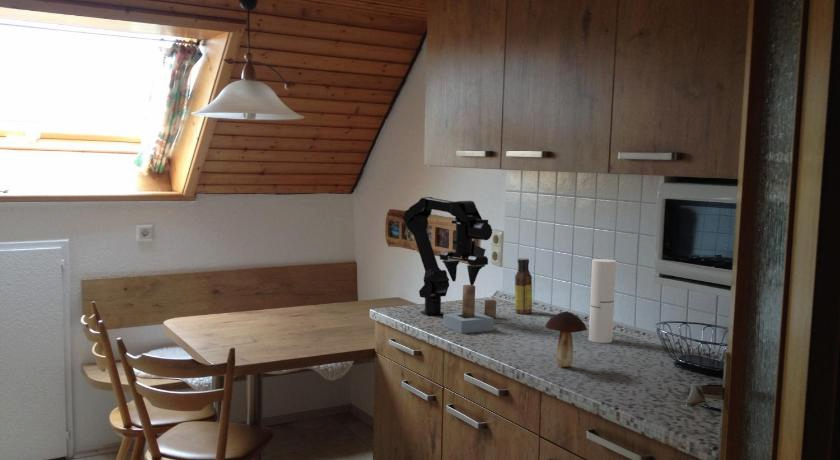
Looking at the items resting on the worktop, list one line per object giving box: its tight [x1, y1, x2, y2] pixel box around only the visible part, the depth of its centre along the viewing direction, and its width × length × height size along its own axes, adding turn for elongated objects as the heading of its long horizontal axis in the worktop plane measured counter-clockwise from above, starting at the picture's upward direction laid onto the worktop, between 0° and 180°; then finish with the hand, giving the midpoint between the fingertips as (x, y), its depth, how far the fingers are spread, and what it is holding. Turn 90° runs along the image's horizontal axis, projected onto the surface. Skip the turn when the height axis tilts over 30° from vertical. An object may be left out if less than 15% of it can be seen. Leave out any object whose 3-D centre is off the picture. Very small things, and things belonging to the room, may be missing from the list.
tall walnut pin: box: [461, 284, 476, 319], centre depth 249 cm, size 4×4×14 cm
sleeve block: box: [442, 311, 495, 334], centre depth 249 cm, size 12×12×4 cm
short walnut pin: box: [483, 299, 497, 319], centre depth 267 cm, size 4×4×6 cm
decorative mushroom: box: [545, 311, 588, 368], centre depth 203 cm, size 11×11×15 cm
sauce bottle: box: [514, 257, 533, 315], centre depth 276 cm, size 7×6×20 cm
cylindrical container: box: [588, 258, 617, 344], centre depth 235 cm, size 7×7×25 cm
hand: (462, 283), depth 260 cm, fingers open, 9 cm apart
